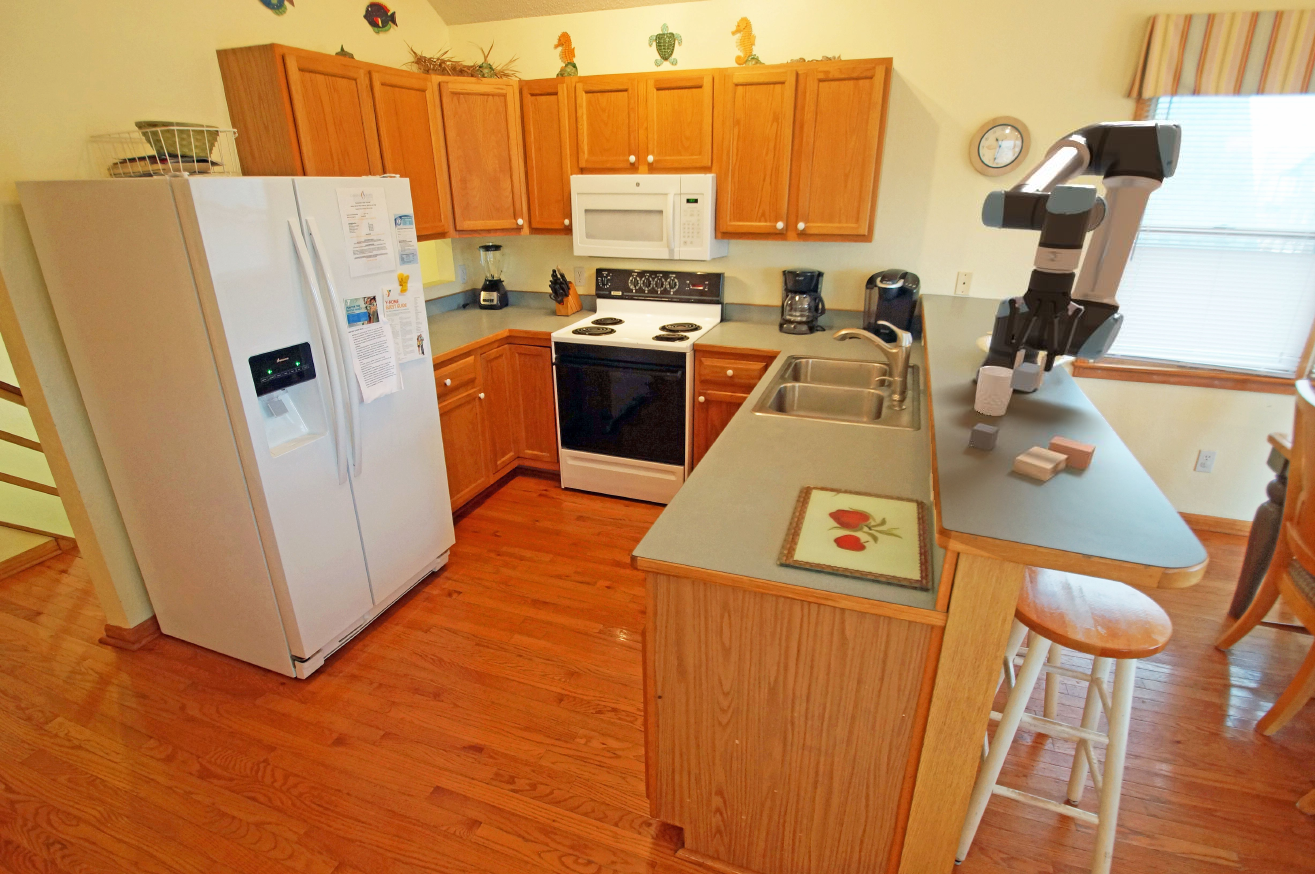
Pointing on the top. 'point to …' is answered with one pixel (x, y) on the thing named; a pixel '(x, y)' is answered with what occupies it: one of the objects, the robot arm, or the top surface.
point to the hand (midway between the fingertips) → (1026, 382)
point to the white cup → (993, 390)
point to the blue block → (1025, 377)
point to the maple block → (1040, 463)
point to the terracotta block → (1073, 451)
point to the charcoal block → (984, 436)
